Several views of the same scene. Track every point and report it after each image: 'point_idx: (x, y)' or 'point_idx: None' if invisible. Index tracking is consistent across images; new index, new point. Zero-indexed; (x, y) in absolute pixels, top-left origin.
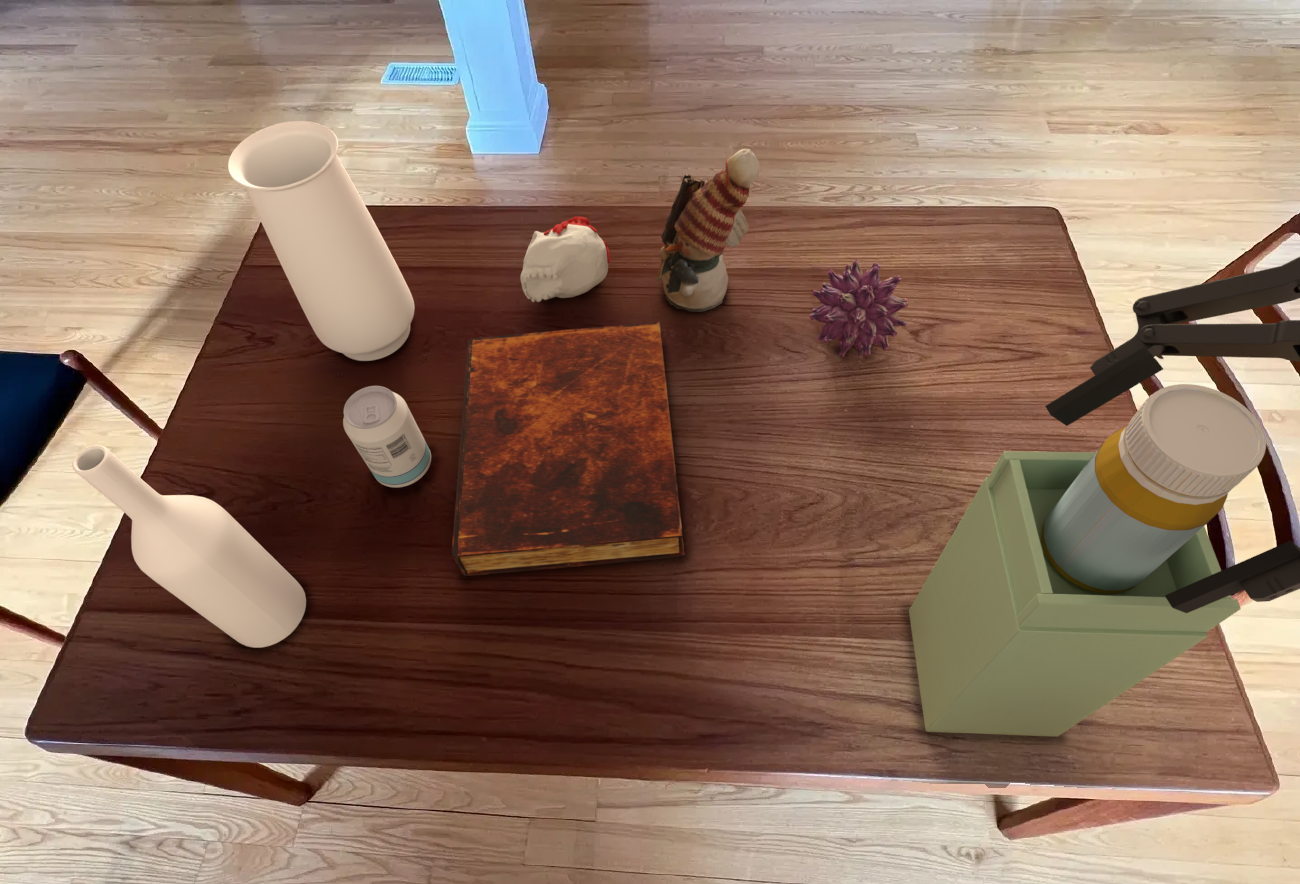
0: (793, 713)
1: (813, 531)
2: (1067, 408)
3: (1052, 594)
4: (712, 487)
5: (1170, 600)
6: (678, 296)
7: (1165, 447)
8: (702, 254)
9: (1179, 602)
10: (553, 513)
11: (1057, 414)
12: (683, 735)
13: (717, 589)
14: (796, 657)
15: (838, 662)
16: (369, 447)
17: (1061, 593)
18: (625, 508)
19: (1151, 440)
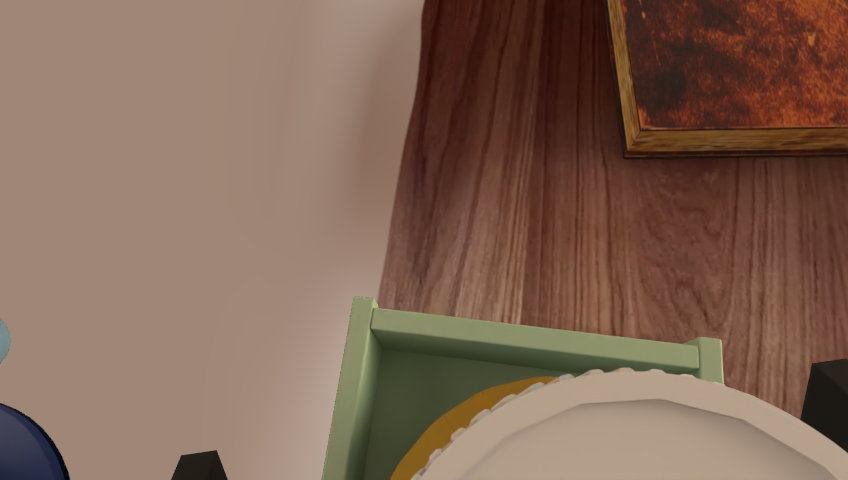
0: (438, 249)
1: (663, 309)
2: (842, 410)
3: (368, 326)
4: (721, 197)
5: (199, 458)
6: None
7: (544, 419)
8: None
9: (178, 471)
10: (665, 4)
11: (818, 388)
12: (426, 144)
13: (582, 189)
14: (499, 261)
15: (491, 306)
16: None
17: (421, 419)
18: (675, 73)
19: (591, 376)
